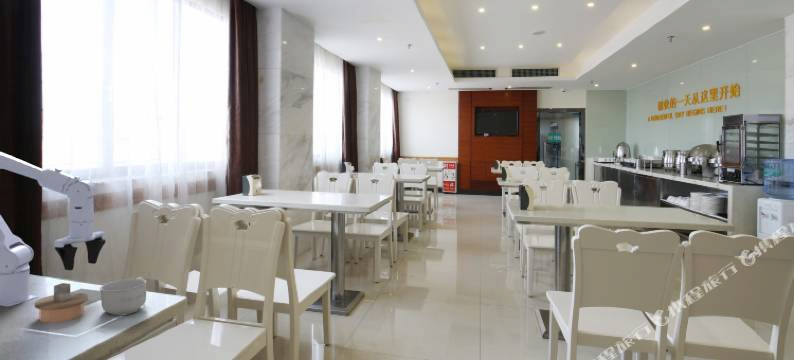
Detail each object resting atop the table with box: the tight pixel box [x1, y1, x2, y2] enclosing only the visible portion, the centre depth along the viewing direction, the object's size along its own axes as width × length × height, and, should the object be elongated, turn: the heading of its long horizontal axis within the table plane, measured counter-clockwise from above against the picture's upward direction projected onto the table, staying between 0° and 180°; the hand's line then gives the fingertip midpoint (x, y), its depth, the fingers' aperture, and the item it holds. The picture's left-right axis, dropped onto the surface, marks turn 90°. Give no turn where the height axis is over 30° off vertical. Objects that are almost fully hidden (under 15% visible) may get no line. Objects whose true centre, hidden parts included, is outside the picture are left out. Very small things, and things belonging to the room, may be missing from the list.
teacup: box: [99, 276, 148, 316], centre depth 117 cm, size 14×11×8 cm
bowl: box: [38, 303, 85, 323], centre depth 110 cm, size 9×9×4 cm
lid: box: [34, 282, 88, 310], centre depth 110 cm, size 11×11×5 cm
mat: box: [70, 288, 101, 307], centre depth 123 cm, size 13×13×1 cm
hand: (80, 266), depth 124 cm, fingers open, 7 cm apart
